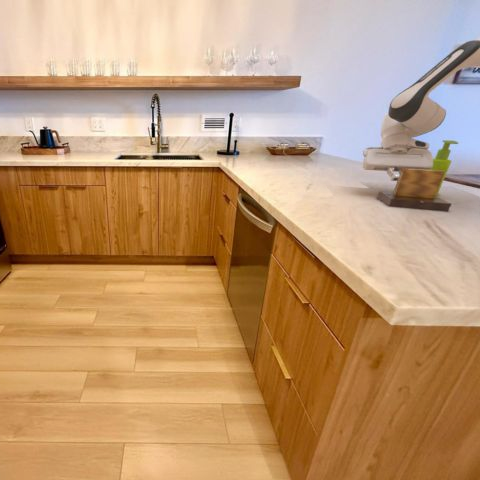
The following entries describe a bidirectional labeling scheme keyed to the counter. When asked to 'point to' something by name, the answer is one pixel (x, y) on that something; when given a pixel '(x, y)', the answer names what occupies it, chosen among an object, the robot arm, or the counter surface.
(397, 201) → the dark square slab
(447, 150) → the soap dispenser
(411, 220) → the counter surface
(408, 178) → the wooden block
